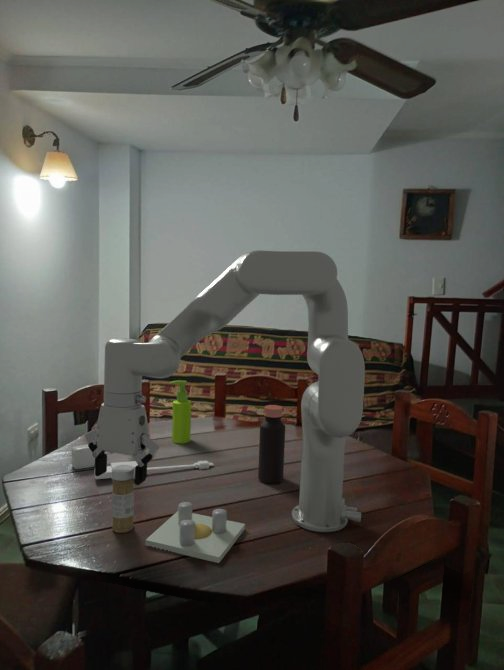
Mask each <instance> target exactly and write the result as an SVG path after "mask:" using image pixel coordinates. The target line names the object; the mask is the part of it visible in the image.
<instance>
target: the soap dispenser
mask: <svg viewBox="0 0 504 670" xmlns="http://www.w3.org/2000/svg"><path fill="white" fill-rule="evenodd" d="M169 384H171V385H175V384H179V389H177V390H176V400H173V401H172V424H171V425H172V430H171V431H172V435H171V438H172V442H173V443H174V444H188V443H189V442H191V426H192V425H191V424H192V419H191V418H192V401H191V400H189V399H188V390H186V384H188V381H187V380H181V379H179V380H173V381H170V382H169Z"/></svg>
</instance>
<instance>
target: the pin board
mask: <svg viewBox="0 0 504 670" xmlns="http://www.w3.org/2000/svg"><path fill="white" fill-rule="evenodd" d="M177 507H178V508H177V511H176V512H175V513H173V515H171V516H170V518H168V519H167V520H166V521H165V522H164V523H163V524H162V525H160V526H159V527H158V528H157V529H156V530H155V531H153V533H151V535H149V536H148V537H147V538H146V539H145V545H147V546H146V547H149V546H152V547H151V548H154V547H156V548H155V549H158V548H160V549H159V550H162V549H164V550H163V551H166V550H168V551H167V552H170V551H171V553H174V552H175V553H174V554H179V555H183V556H186V557H187V556H188V557H192V558H195V559H199V560H204V561H207V562H212V563H217V564H219V563H220V562H221V561H222V560H223V559H224V557H225V556H226V555H227V553H229V551H230V550H231V548H232V547H233V545H235V543H236V542H237V541H238V539H239V538H240V536H241V535H242V534H243V532H244V531H245V530H246V523H242V522H238V521H233V520H228V512H227V510H226V509H223V508H216V509H213V510H212V516H208V515H204V514H203V515H202V514H199V513H193V503H191V502H189V501H183V502H180V503H178V506H177Z"/></svg>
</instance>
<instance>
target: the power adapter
mask: <svg viewBox="0 0 504 670" xmlns="http://www.w3.org/2000/svg"><path fill="white" fill-rule="evenodd" d="M104 454H107V455H112V454H114V453H112V452H107V451H106V452H105V453H104ZM71 465H72V467H73V468H74V469H75V470H83V468H84V469H90V468H93V467H95V457H93V456H92V451H91V450H90V448H89V447H88V443H87V444H86V443H85V444H80V445H74V446H72V447H71Z"/></svg>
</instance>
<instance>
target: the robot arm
mask: <svg viewBox="0 0 504 670" xmlns="http://www.w3.org/2000/svg"><path fill="white" fill-rule="evenodd" d="M260 295H270V296H271V295H273V296H274V295H275V296H276V295H277V296H279V295H280V296H286V295H287V296H297V295H299V296H300V295H301V296H302V297H303V299H304V300H305V303H306V306H307V317H308V327H307V331H308V332H307V348H306V349H307V352H306V361H307V364H308V366H309V367H310V369H311V371H313V372H314V373H315V374H316V375H318V379H317V381H315V382H312V383H311V384H309V386H307V387H306V389H305V390H304V392H303V394H302V397H301V403H300V411H301V426H302V427H301V430H302V432H301V433H302V434H301V435H302V437H301V453H300V454H301V457H300V478H299V479H300V480H299V501H298V504H297V505H296V506H294V507H293V508H292V511H291V519H292V521H293V522H294V524H295V525H297V526H299V527H301V528H302V529H306V530H308V531H312V532H317V533H333V532H336V531H337V532H338V531H340V530H343V529H344V528H346V527H347V525H348V520H352V521H354V522H359V523H361V519H362V512H359V511H358V508H357V507H354V506H353V507H352V506H348V505H346V502H345V501H346V499H345V498H343V484H344V467H345V464H344V463H345V453H346V438H347V437H348V436H350V435H352V434H353V433H354V432H355V431H356V430H357V429H359V428H358V427H359V426H360V423H361V421H362V418H363V413H364V398H365V397H364V396H365V395H364V394H365V376H366V375H365V374H366V373H365V371H366V366H365V359H364V356H363V353H362V350H361V349H360V347H359V345H357V344H356V343H355V342H354V341H353V340H350V339H349V309H348V300H347V297H346V294H345V291H344V289H343V286H342V285H341V283H340V281H339V280H338V267H337V264H336V263H335V261H334V259H333V258H332V257H331V256H329V255H328V254H326V253H324V252H321V251H313V250H312V251H309V250H308V251H303V250H302V251H299V250H298V251H293V250H292V251H288V250H287V251H284V250H283V251H279V250H252V251H248V252H246V253H244V254H242V255H241V256H239V257H238V258H237V259H236V260H235V261H234V262H233V263H231V264H230V265H229V266H228V267H227V268H226V269H225V270H224V271H223V272H222V273H221V274H219V276H218V277H217V278H215V279H214V280H213V281H212V282H211V283H210V284H209V285H207V287H206V288H205V289H204V290H202V292H200V293H199V294H198V295H197V296H196V297H195V298H194V299H192V301H190V303H188V305H187V306H186V307H185V308H184V309H183V310H182V311H181V312H179V313H178V315H176V316H175V317H174V318H173V319H172V320H171V321H170V322H169V323H167V324H166V325H165V326H164V327H163V328H162V329H161V330H160V331H159V332H158V333H157V334H155V335H154V336H153V337H152V338H151V339H150V340H149V341H148V342H141V341H140V340H138V339H134V338H121V337H120V338H112V339H109V340H108V341H107V342H106V343H105V346H104V375H103V377H104V378H103V402H102V403H101V405H100V408H99V413H98V418H97V425H96V429H94V430H93V431H90V432H87V433H85V435H84V437H85V440H86V442H87V444H88V447H89V448H90V450H91V451H92V456H93V457H95V466H94V468H95V474H94V477H95V476H100V475H101V474H103V473H105V472H106V471H107V466H108V454H104V453H105V452H112V453H113V454H117V455H122V456H128V457H132V458H133V459H134V461H136V462H137V464H138V465H137V466H136V467H135V479H134V484H135V485H136V486H139V485H141V484H142V483H143V482H145V481H146V479H147V476H148V471H147V468H148V464H149V462H150V461H152V460H153V459H154V458H155V457H156V454H157V453H158V452H159V449H160V445H159V444H158V443H156V442H155V441H153V440H152V439H151V438H150V437H149V427H148V417H147V411H146V407H145V405H144V403H146V401H147V396H146V395H145V396H144V395H143V392H142V388H143V383H142V382H143V377H148V378H154V379H166V378H170V377H171V376H173V375H175V373H176V372H177V371H178V370H179V368H180V365H181V358H182V357H183V356H184V355H185V354H186V353H188V352H189V351H190V350H191V349H192V348H193V347H194V346H195V345H197V344H198V343H199V342H201V340H202V339H204V338H206V337H207V336H208V335H210V334H213V333H215V332H218V331H219V330H222V329H223V328H224V327H226V326H228V324H229V323H230V322H231V321H232V320H234V319H235V318H236V317H237V316H238V315H239V314H240V313H241V312H242V311H243V310H244V309H245V308H246V307H247V306H248V305H249V304H251V303H253V301H254V300H256V298H257V297H258V296H260ZM142 403H143V404H142ZM147 449H148V453H147V452H146V450H147Z"/></svg>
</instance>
